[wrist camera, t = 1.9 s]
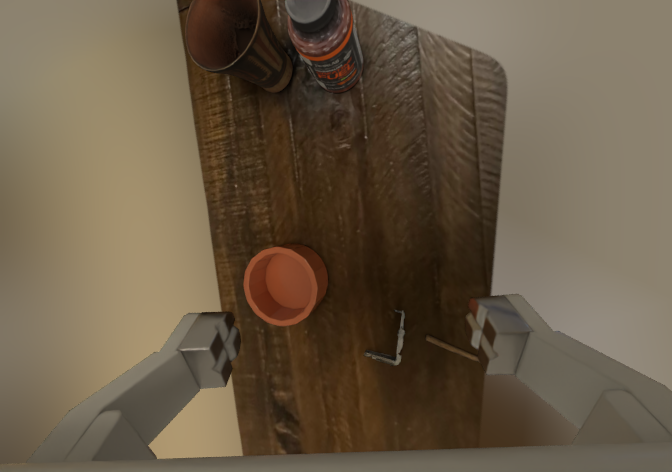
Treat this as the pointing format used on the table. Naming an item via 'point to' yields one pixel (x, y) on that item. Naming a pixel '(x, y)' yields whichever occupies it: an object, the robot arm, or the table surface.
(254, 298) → the holder
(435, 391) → the table surface
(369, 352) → the l-shaped bracket
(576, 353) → the robot arm
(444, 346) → the stick
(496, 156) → the table surface
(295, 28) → the supplement bottle
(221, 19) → the cup
